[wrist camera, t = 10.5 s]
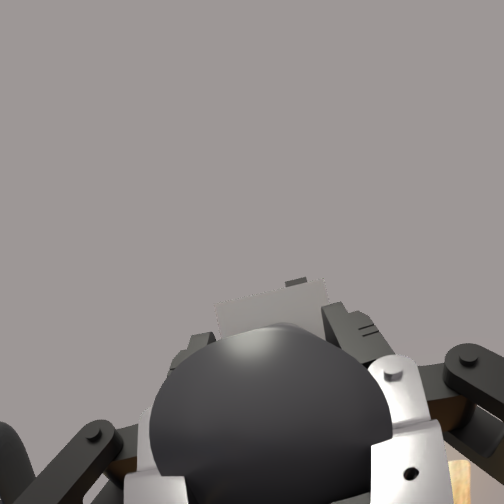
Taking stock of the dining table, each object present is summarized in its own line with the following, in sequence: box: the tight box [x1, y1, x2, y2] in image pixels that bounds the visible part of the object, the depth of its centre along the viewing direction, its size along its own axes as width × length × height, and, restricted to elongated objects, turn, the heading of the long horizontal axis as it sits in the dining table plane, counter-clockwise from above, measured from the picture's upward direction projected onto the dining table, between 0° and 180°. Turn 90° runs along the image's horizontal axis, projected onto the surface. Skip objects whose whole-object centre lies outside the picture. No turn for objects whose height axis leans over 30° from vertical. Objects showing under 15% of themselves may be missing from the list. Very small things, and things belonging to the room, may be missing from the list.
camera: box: [149, 277, 393, 504], centre depth 15 cm, size 7×23×7 cm, turn 173°
